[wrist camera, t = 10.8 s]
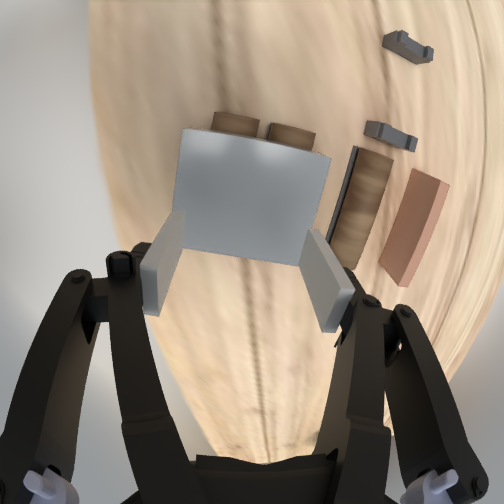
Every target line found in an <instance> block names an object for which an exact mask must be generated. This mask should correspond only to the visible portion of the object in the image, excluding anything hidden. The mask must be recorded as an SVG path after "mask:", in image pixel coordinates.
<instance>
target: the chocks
mask: <svg viewBox="0 0 504 504" xmlns="http://www.w3.org/2000/svg"><path fill="white" fill-rule="evenodd" d="M271 125H272V123H271V124H270V128H269V133H268V137H267V140H268V138H269V134H270V130H271ZM357 149H358V147H356V146H353V149H352V153H351V157H350V160H349V164H348V167H347V171H346V174H345V178H344V181H343V185H342V188H341V191H340V195H339V198H338V201H337V205H336V208H335V211H334V214H333V217H332V220H331V223H330V226H329V229H328V232H327V235H326V238H325V240H326V241H327V243H329V240H330V237H331V234H332V231H333V228H334V225H335V222H336V219H337V216H338V213H339V210H340V207H341V203H342V200H343V197H344V194H345V191H346V187H347V184H348V180H349V177H350V174H351V170H352V167H353V163H354V160H355V156H356V152H357Z"/></svg>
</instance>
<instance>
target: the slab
mask: <svg viewBox="0 0 504 504" xmlns="http://www.w3.org/2000/svg"><path fill="white" fill-rule="evenodd" d="M331 159H332V158H330V157H328V156H326V155H324V154H322V153H319V152H315V151H312V150H308V149H304V148H300V147H296V146H292V145H288V144H283V143H279V142H275V141H270V140H265V139H260V138H255V137H250V136H245V135H240V134H234V133H228V132H222V131H215V130H209V129H201V128H194V127H189V128H183V133H182V139H181V146H180V152H179V159H178V166H177V174H176V182H175V190H174V199H173V209H172V211H173V210H181V211H185V218H184V232H183V248H186V249H192V250H198V251H204V252H211V253H217V254H223V255H229V256H235V257H242V258H248V259H254V260H261V261H267V262H273V263H280V264H286V265H293V266H299V265H298V263H299V260H300V256H301V253H302V249H303V246H304V242H305V238H306V235H307V231H308V228H312V225H313V222H314V218H315V215H316V212H317V208H318V205H319V202H320V198H321V195H322V191H323V188H324V184H325V181H326V177H327V174H328V170H329V166H330V163H331Z"/></svg>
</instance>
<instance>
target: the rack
mask: <svg viewBox="0 0 504 504" xmlns="http://www.w3.org/2000/svg"><path fill="white" fill-rule="evenodd" d="M382 47H384V48H386V49H388V50H390V51H392V52H394V53H396V54H398V55H400V56H402V57H404V58H406V59H407V60H409V61H411V62H413V63H414V64H422V63H429V62H430V61H433V53H434V49H433V48H431V47H430V46H425V47H424V46H422V45H421V44H419V43H418V42H416V41H414V40H413V39H411V38H409V37H408V33H407V32H405V31H403V30H401V31H397V30H396V31H394V32H391V33H389V34H387V35H384V39H383V45H382ZM364 134H365V135H367V136H370V137H372V138H375V139H378V140H380V141H383V142H385V143H388V144H390V145H392V146H395V147H397V148H400V149H403V150H407V151H410V152H415V149H416V145H417V141H418V138H416V137H414V136H411V135H407V134H405V133H403V132H401V131H399V130H397V129H395V128H392V126H391V125H388V124H386V123H381V122H376V121H367V123H366V127H365V131H364Z"/></svg>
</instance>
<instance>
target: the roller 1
mask: <svg viewBox="0 0 504 504" xmlns="http://www.w3.org/2000/svg"><path fill="white" fill-rule="evenodd" d="M259 121H260V120H258V119H254V118H249V117H244V116H238V115H232V114H226V113H219V112H215V113H214V118H213V123H212V128H211V130H215V131H222V132H228V133H234V134H240V135H245V136H250V137H255V138H256V135H257V130H258V126H259Z"/></svg>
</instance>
